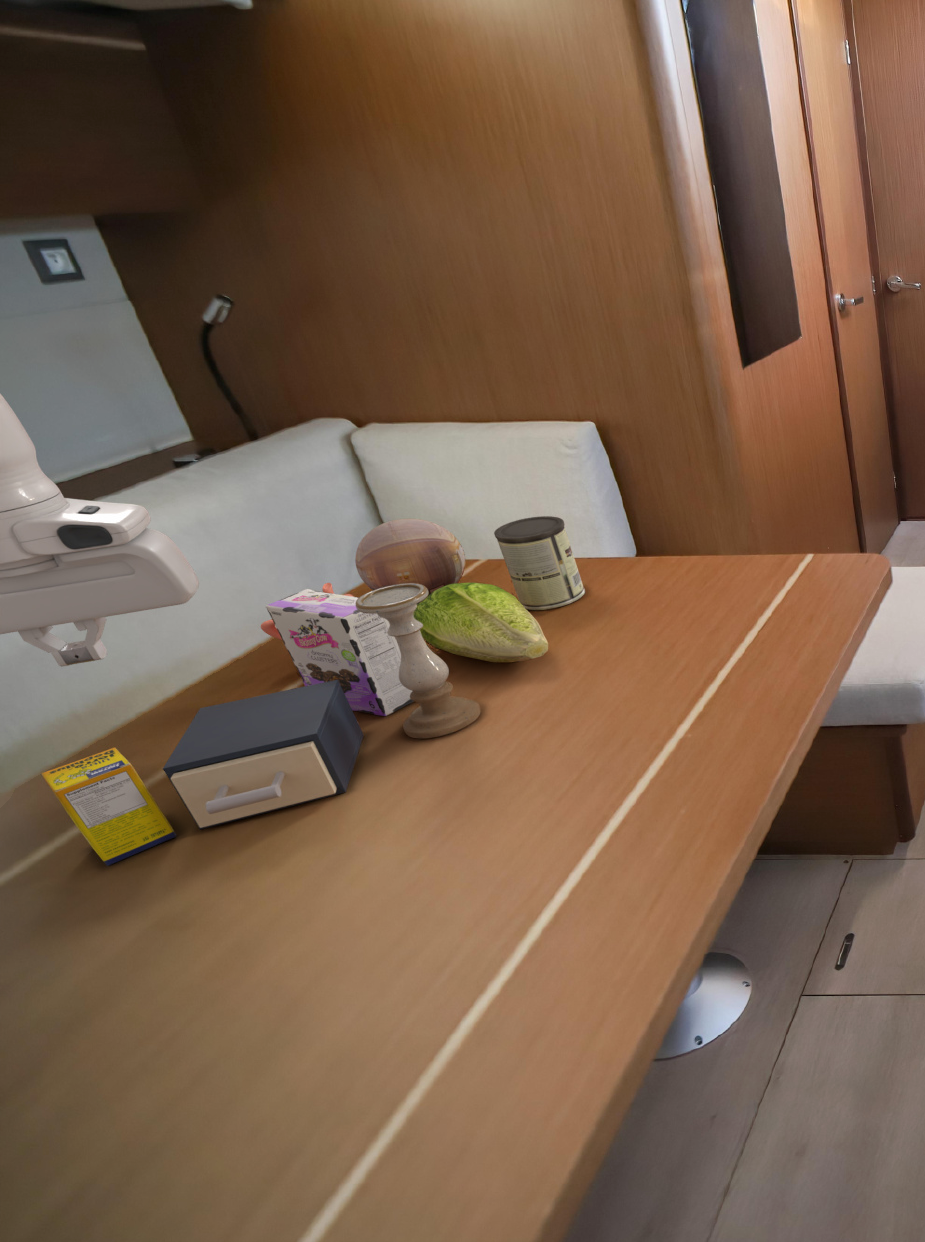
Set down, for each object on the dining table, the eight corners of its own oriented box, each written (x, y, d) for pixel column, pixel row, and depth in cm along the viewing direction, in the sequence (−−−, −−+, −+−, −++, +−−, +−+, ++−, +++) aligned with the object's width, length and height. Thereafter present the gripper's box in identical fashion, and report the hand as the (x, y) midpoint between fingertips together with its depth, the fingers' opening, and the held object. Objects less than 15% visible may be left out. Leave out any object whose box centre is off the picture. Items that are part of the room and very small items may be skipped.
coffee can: (515, 595, 163) (490, 524, 156) (580, 581, 168) (558, 511, 162) (523, 616, 155) (497, 542, 149) (590, 600, 161) (568, 528, 155)
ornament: (495, 579, 168) (468, 505, 162) (442, 616, 155) (411, 537, 148) (412, 581, 167) (382, 506, 161) (352, 618, 154) (317, 538, 147)
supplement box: (161, 819, 108) (115, 745, 103) (178, 837, 105) (132, 762, 100) (90, 848, 103) (38, 772, 98) (106, 867, 100) (53, 790, 95)
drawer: (328, 815, 107) (303, 766, 104) (187, 852, 101) (156, 801, 98) (353, 739, 121) (331, 694, 118) (230, 767, 115) (204, 721, 112)
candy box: (311, 704, 130) (261, 604, 123) (352, 683, 135) (307, 587, 128) (385, 718, 127) (339, 616, 120) (424, 696, 132) (382, 598, 125)
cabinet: (346, 792, 112) (316, 733, 108) (199, 830, 106) (162, 768, 102) (364, 734, 123) (337, 679, 119) (232, 765, 117) (199, 708, 113)
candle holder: (412, 713, 128) (357, 587, 119) (485, 699, 132) (437, 575, 123) (398, 745, 121) (339, 614, 112) (476, 729, 125) (425, 601, 116)
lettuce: (478, 666, 130) (535, 594, 135) (382, 622, 139) (438, 556, 144) (543, 697, 141) (594, 630, 145) (449, 654, 149) (500, 592, 154)
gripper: (-192, 568, 75) (-91, 705, 81) (145, 523, 85) (212, 648, 91) (-147, 543, 80) (-56, 674, 86) (167, 503, 90) (229, 623, 96)
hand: (85, 660), depth 89 cm, fingers closed
